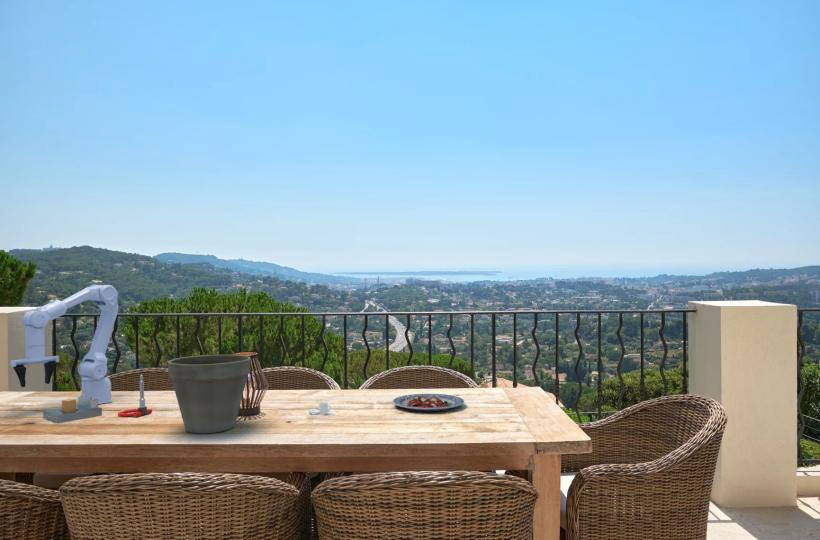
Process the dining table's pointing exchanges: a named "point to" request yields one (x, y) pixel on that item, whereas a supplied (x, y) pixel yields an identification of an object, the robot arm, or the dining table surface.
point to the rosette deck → (83, 410)
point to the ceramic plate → (428, 402)
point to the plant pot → (209, 390)
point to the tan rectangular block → (68, 405)
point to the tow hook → (142, 409)
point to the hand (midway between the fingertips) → (35, 385)
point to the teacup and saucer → (321, 410)
